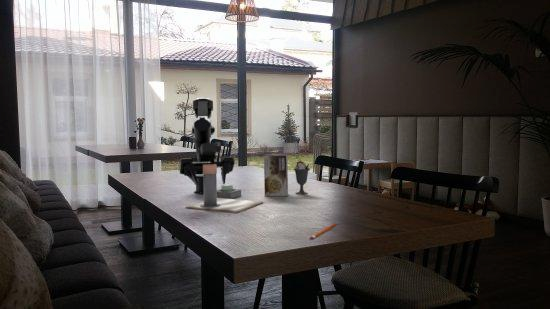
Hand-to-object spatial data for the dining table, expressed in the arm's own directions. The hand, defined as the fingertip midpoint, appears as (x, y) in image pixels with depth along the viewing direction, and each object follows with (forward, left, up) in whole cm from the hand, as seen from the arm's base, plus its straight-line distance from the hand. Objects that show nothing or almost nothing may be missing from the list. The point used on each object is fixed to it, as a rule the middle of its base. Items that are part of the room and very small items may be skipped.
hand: (210, 184), depth 152 cm
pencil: (+45, -14, -9) cm, 48 cm away
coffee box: (+9, +33, -8) cm, 35 cm away
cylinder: (-1, +1, -7) cm, 8 cm away
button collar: (-7, +22, -8) cm, 24 cm away
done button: (-7, +22, -6) cm, 24 cm away
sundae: (+17, +40, -8) cm, 44 cm away
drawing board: (+2, +6, -8) cm, 10 cm away
